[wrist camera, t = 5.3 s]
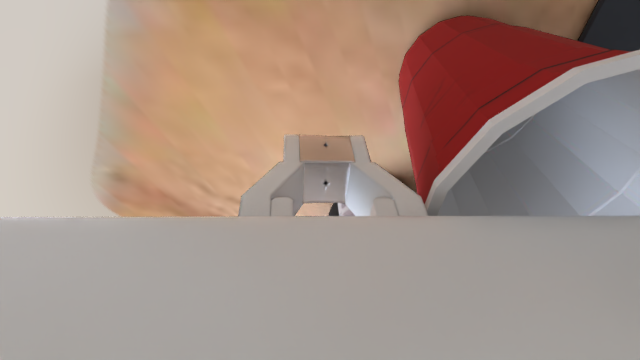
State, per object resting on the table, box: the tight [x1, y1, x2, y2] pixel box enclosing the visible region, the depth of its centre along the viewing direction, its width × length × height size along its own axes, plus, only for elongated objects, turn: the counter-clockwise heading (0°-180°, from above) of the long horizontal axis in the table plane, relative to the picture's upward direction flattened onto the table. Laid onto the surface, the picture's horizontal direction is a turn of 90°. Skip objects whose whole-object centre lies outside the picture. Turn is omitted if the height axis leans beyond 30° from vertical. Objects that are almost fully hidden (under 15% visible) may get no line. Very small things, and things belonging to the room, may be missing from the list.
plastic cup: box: [399, 16, 640, 216], centre depth 15 cm, size 11×11×12 cm
